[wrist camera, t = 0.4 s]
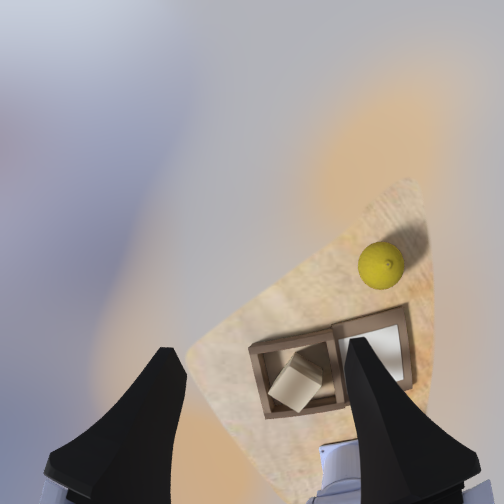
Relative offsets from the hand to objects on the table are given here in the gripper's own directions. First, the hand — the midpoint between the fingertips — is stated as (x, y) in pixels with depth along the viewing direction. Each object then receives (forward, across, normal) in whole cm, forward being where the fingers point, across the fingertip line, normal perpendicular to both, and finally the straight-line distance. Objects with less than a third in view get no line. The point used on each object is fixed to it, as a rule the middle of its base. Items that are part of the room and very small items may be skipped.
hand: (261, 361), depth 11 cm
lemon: (+22, -13, +11) cm, 28 cm away
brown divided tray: (+15, -7, +22) cm, 28 cm away
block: (+15, -3, +23) cm, 28 cm away
